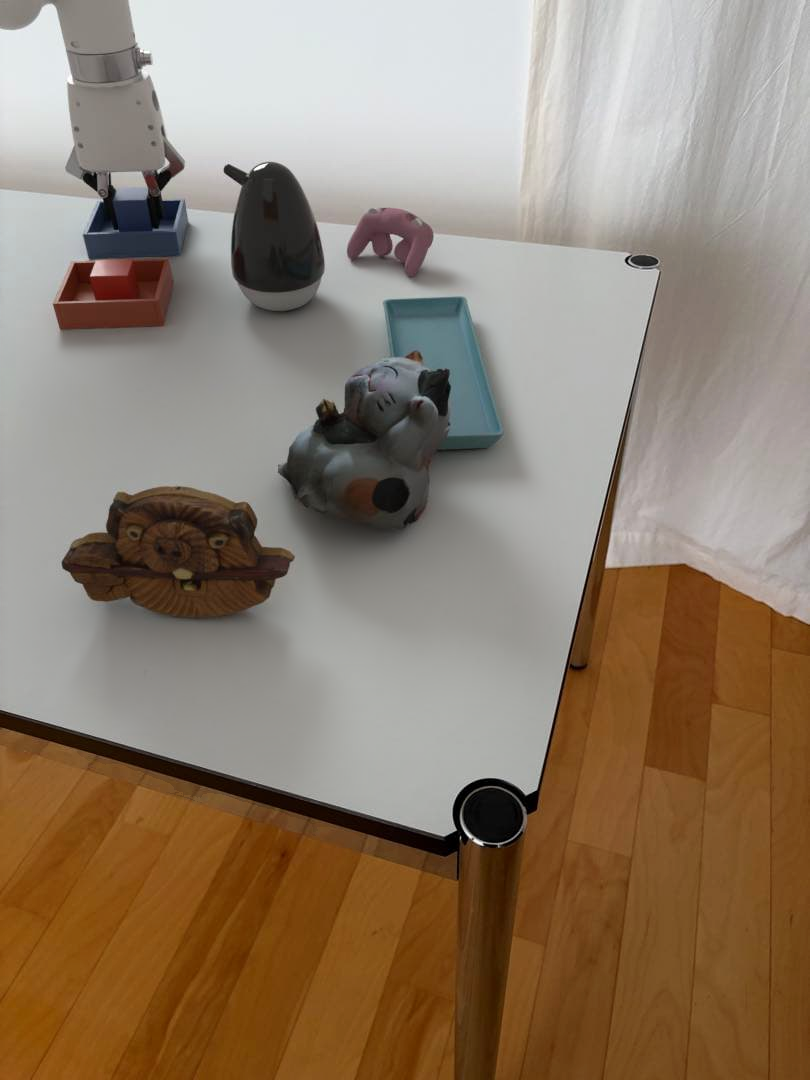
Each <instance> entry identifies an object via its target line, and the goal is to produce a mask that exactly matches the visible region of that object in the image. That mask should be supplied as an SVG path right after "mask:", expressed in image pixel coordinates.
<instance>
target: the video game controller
mask: <svg viewBox="0 0 810 1080" xmlns="http://www.w3.org/2000/svg"><path fill="white" fill-rule="evenodd" d="M391 235H394V236H398V237H399V238H401V240H400V241H399V242H397V244H396V245H395V247H394V246H393V245H394V244H393V240H392V238H391ZM434 237H435V236H434V231H433V229H432V227H431V225H429V224H428V223H427V222H425V221H424V220H422V219H421V218H420V217H419V216H417V215H416V214H414V213H412V212H410V211H407V210H404V209H401V208H395V207H374V208H373V207H372V208H369V210H368V212H366V213H364V214H362V216H361V218H360V220H359V221H358V224H357V226H356V227H355V229H354V231H353V233H352V235H351V236H350V239H349V241H348V243H347V245H346V246H347V248H346V255H347V258H348V259H349V260H354V259H356V258H358V257H359V256H360V255H361V254H362V253H364V250H365V249H366V248H367V246H368V245H369V244H370V242H371V247H372V251H373V252H374V254H376V255H377V256H384V257H386V256H389V255H390V254H391V253H392V251H393V255H394V258H395V259H396V260H397V261H399V262H400V263H405V265H404V272H405V275H406V276H407V277H412V276H414V275H416V274H417V273H418V271H419V270H420V268H421V267H422V266H423V264H424V261H425V259H426V256H427V253H428V251H429V249H430V247H431V246H432V245H433V242H434ZM393 247H394V250H393Z"/></svg>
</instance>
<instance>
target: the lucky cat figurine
mask: <svg viewBox="0 0 810 1080" xmlns="http://www.w3.org/2000/svg"><path fill="white" fill-rule="evenodd" d="M449 375H450V370H449V369H437V370H436V371H432V370H430V369H429V368H427V367H425V366H424V365H423V359H422V356H421V353H420V352H419V351H417V350H415V351H413V352H411V353H410V354H409V355H407V356H406V357H404V358H403V357H393V358H391V357H382V358H381V359H380V360H379V361H377V362H375V363H373V364H370V365H369V364H368V365H365V366H362V367H360V368H359V369H358V370H356V371H355V372H354V373H353V374H352V375H351V376H350V377H349V378H348V379H347V381H346V383H345V385H344V408H343V411H342V412H341V413H339V410H338V408H337V406H336V404H335V403H334V401H333V400H331V399H326V398H323V399H322V400H321V401H320V402H319V403H318V405H317V406H316V407H315V412H316V416H317V418H318V419H316V420H315V421H314V424H313V425H311V426H309V427H308V428H306V429H305V430H303V431H300V432H299V433H298V435H296V437H295V439H294V441H293V442H292V443H291V444H290V446H289V448H288V454H287V458H286V462H285V463H282V464H281V463H280V464H277V473H278V475H280V476H281V477H282V478H284V479H285V480H286V482H287V483H288V484H289V485H290V486H291V489H292V492H293V495H294V499H295V500H296V501H298V502H299V503H301V504H303V505H304V507H306V508H309V509H311V510H313V511H315V512H318V513H320V514H321V513H322V514H325V515H329V516H334V517H338V518H341V519H345V520H346V519H347V520H350V521H356V522H360V523H364V524H368V525H370V526H372V527H376V528H380V529H381V528H382V529H395V530H404V529H405V528H406V527H407V525H408V524H409V525H410V524H412V523H413V522H417V521H418V519H419V518H420V516H421V515H422V514H423V513H424V511H425V510H426V507H427V504H428V501H429V500H428V498H429V492H430V481H431V479H430V473H429V469H430V464H431V462H432V459H433V457H434V455H435V453H436V452H437V451H438V450H437V449H438V448H439V446H440V445H441V444H442V442H443V441H444V440H445V439H446V437H447V435H448V433H449V430H450V427H451V424H450V422H449V417H450V413H451V405H450V403H449V395H450V391H451V385H450V384H449V381H448V379H449Z"/></svg>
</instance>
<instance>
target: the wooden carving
mask: <svg viewBox="0 0 810 1080" xmlns="http://www.w3.org/2000/svg"><path fill="white" fill-rule="evenodd" d="M257 526H258V518H257V515H256V513H255V511H254V509H253V507H252V506H251V505H250V504H249V502H246V501H240V502H239V501H238V502H235V501H233V500H230V499H228V498H226V497H224V496H222V495H218V494H217V493H212V492H209V491H205V490H204V491H203V490H200V489H198V488H194V487H189V486H181V485H176V486H169V485H163V486H157V487H151V488H148V489H145V490H140V491H138V492H136V493H134V494H129V493H128V492H125V491H118V492H117V493H116V494H115V495H114V497H113V500H112V503H111V504H110V505H109V508H108V515H107V520H106V523H105V530H106V531H105V532H104V531H101V532H99V531H98V532H92V533H88V534H86V535H85V536H83V537H81V538H77V539H74V540H73V541H72V542H71V544H70V546H69V549H68V550H67V552H66V554H65V555H64V557H63V558H62V560H61V567H62V568H61V569H62V570H63V571H65V572H68V573H69V574H70V576H71V578H72V579H73V581H74V582H75V583H77V584H81V585H82V586H83V589H84V591H85V593H86V595H87V596H88V598H89V599H91V600H92V601H96V602H105V603H109V602H113V601H119V600H122V599H123V600H124V599H126V598H129V599H130V601H131V602H132V603H133V604H134V605H137V606H139V607H141V608H143V609H146V610H148V611H152V612H153V613H159V614H163V615H166V616H172V617H178V618H179V617H180V618H192V619H193V618H200V619H201V618H209V617H223V616H228V615H233V614H236V613H239V612H243V611H246V610H249V609H250V608H253V607H255V606H259V605H260V604H263V603H265V601H267V600H268V599H269V598H270V596H271V593H272V589H273V588H274V587H275V583H276V581H277V580H278V579H281V578H284V577H285V576H287V574H288V573H289V570H290V565H291V563H292V562H294V561H295V558H296V556H295V555H294V554H293V553H292V551H290V550H288V549H286V548H284V547H275V546H273V547H272V546H271V547H269V546H262V544H261V543H260V541H259V539H258V538H257V536H256V535H255V533H256V530H257Z"/></svg>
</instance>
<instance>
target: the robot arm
mask: <svg viewBox="0 0 810 1080" xmlns="http://www.w3.org/2000/svg"><path fill="white" fill-rule="evenodd" d="M46 5H47V6H48V5H53V6H54V8H55V10H56V13H57V18H58V21H59V26H60V31H61V35H62V40H63V43H64V47H65V53H66V57H67V62H68V66H69V71H70V74H69V75H68V77H67V80H66V82H67V84H66V88H67V89H66V90H67V101H68V103H67V104H68V112H69V119H70V120H69V121H70V127H71V133H72V140H73V147H72V150H71V152H70V154H69V157H68V159H67V162H66V165H65V167H64V168H65V171H66V173H67V174H69V175H71V176H73V177H75V178H76V179H78V180H81V181H83V182H84V183H85V184H86V185H87V186H89V187H90V188H91V189H92V190H94V191H95V192H96V193H97V195H98V196H99V197H100V198H101V199H102V201H103V202H104V206H105V211H106V215H107V219H108V221H112V223H113V228H114V230H119V228H118V224H117V219H116V215H115V210H114V206H113V199H114V197H115V194H116V192H117V189H116V188H115V186H114V185H113V180H112V179H113V178H112V176H113V175H112V173H137V172H138V173H139V172H141V174H142V177H143V179H144V182H145V185H146V187H148V195H147V202H148V207H149V213H150V218H151V223H152V227H153V228H154V229H159V225H160V222H161V219H164V217H165V213H164V207H163V202H162V199H163V197H162V191H163V190H164V189H165V187H167V185H168V184H169V183H170V181H171V179H173V178H174V177H176V176H178V174H180V173H181V172H182V171H183V170H185V167H186V161H185V159H184V158H183V157H182V155H181V154H180V153H179V152H178V150H177V149H176V148H175V147H174V146H173V144H172V143H171V142H170V141H169V140H168V136H167V135H168V134H167V131H166V127H165V122H164V118H163V115H162V110H161V106H160V102H159V99H158V96H157V91H156V89H155V86H154V85H155V84H154V83H153V80H152V78H151V75H150V73H149V72H148V71H145V70H143V68H144V67H147V66H153V64H154V60H153V54H152V52H151V50H150V51H147V50H146V51H145V50H144V49H141V47H139V43H138V42H137V40H136V33H135V28H134V24H133V17H132V12H131V7H130V1H129V0H0V29H1V30H5V31H16V30H22V29H25V28H27V27H28V26H30V25H31V24H33V22H35V21H36V19H37V18H38V16H39V15H40V13H41V11H42V9H43V8H44V7H45V6H46ZM166 160H167V161H168V164H167V165H166V166H165V164H166ZM159 170H160V172H159Z"/></svg>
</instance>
